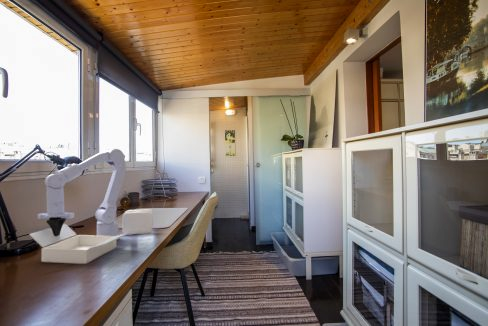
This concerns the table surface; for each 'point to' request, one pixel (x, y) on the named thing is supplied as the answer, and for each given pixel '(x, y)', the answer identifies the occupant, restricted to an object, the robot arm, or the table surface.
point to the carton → (77, 249)
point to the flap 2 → (110, 240)
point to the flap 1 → (52, 235)
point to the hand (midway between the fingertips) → (56, 235)
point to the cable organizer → (137, 221)
